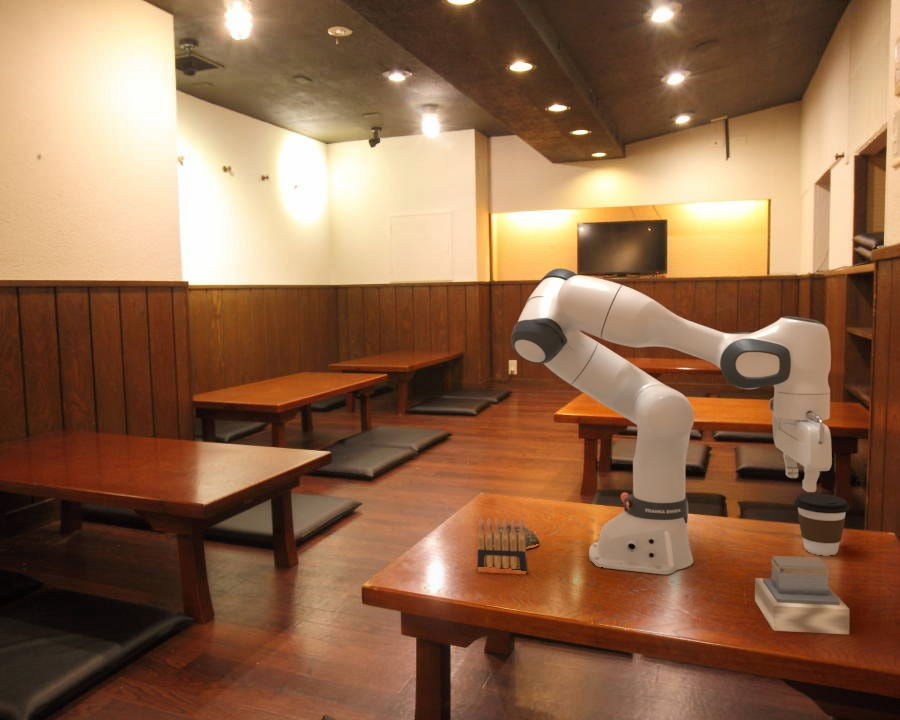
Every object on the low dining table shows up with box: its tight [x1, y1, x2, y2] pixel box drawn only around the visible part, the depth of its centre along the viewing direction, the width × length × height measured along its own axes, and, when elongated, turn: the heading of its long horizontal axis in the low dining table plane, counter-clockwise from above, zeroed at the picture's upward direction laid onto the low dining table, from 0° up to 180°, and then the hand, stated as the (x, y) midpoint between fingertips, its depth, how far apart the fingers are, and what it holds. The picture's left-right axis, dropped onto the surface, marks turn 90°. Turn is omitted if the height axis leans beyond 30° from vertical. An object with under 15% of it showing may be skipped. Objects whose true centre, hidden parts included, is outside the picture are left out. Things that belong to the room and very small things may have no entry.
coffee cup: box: [794, 492, 850, 557], centre depth 152 cm, size 11×11×12 cm
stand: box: [754, 577, 850, 635], centre depth 121 cm, size 12×12×5 cm
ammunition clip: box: [476, 516, 528, 571], centre depth 146 cm, size 11×2×12 cm, turn 79°
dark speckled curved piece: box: [492, 523, 540, 548], centre depth 163 cm, size 13×12×5 cm
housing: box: [770, 555, 830, 596], centre depth 121 cm, size 4×8×5 cm, turn 80°
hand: (800, 483), depth 122 cm, fingers open, 8 cm apart
